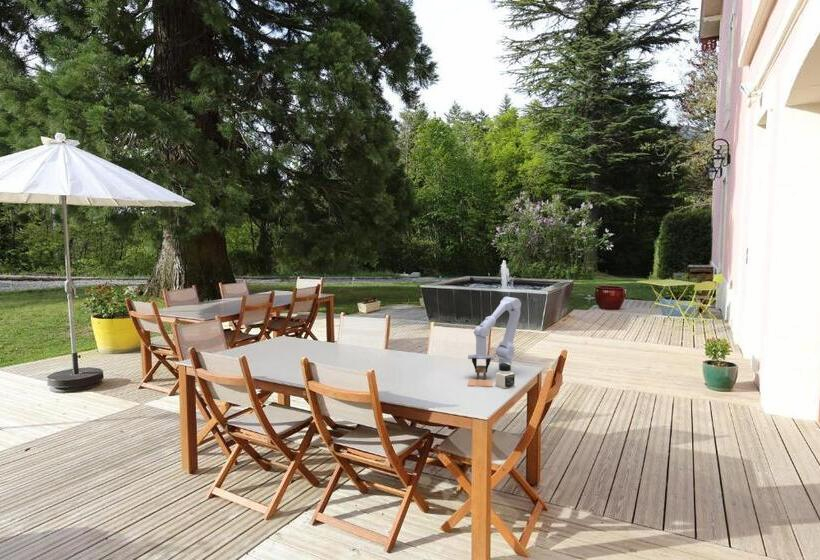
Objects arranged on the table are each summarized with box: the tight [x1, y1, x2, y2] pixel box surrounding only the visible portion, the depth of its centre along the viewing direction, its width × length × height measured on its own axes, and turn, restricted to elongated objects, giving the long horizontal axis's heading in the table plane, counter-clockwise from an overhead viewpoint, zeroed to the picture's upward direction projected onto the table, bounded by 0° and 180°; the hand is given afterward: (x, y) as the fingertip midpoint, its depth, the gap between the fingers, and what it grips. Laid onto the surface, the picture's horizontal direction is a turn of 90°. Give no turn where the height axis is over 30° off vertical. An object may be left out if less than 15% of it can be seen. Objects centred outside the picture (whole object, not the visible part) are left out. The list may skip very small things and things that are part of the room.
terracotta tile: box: [467, 379, 494, 388], centre depth 282 cm, size 11×13×1 cm
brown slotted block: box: [475, 365, 487, 380], centre depth 293 cm, size 5×8×6 cm, turn 170°
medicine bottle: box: [495, 363, 515, 390], centre depth 277 cm, size 7×7×12 cm
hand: (481, 371), depth 293 cm, fingers closed on brown slotted block, 5 cm apart
